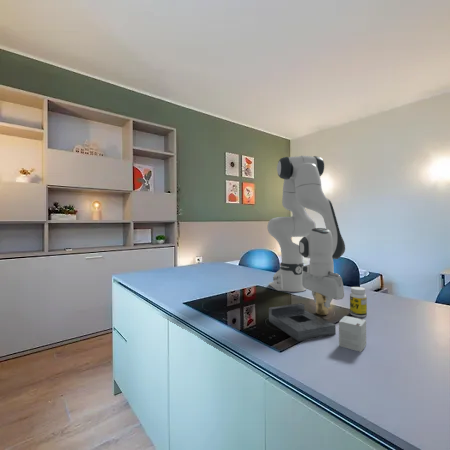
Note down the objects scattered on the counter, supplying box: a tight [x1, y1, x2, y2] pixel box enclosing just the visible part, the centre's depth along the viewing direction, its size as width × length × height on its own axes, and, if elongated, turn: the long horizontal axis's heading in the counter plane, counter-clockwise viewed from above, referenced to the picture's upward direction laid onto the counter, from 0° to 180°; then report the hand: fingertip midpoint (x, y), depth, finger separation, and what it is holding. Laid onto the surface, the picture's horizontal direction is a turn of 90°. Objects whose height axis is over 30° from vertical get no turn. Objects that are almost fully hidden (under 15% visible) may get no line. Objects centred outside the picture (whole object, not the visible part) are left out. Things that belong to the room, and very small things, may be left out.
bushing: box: [315, 292, 329, 316], centre depth 105 cm, size 4×4×8 cm
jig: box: [268, 302, 337, 342], centre depth 92 cm, size 18×14×5 cm
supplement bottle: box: [349, 286, 368, 318], centre depth 103 cm, size 6×6×10 cm
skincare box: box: [338, 315, 367, 353], centre depth 78 cm, size 6×6×7 cm
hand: (321, 304), depth 105 cm, fingers closed on bushing, 4 cm apart
